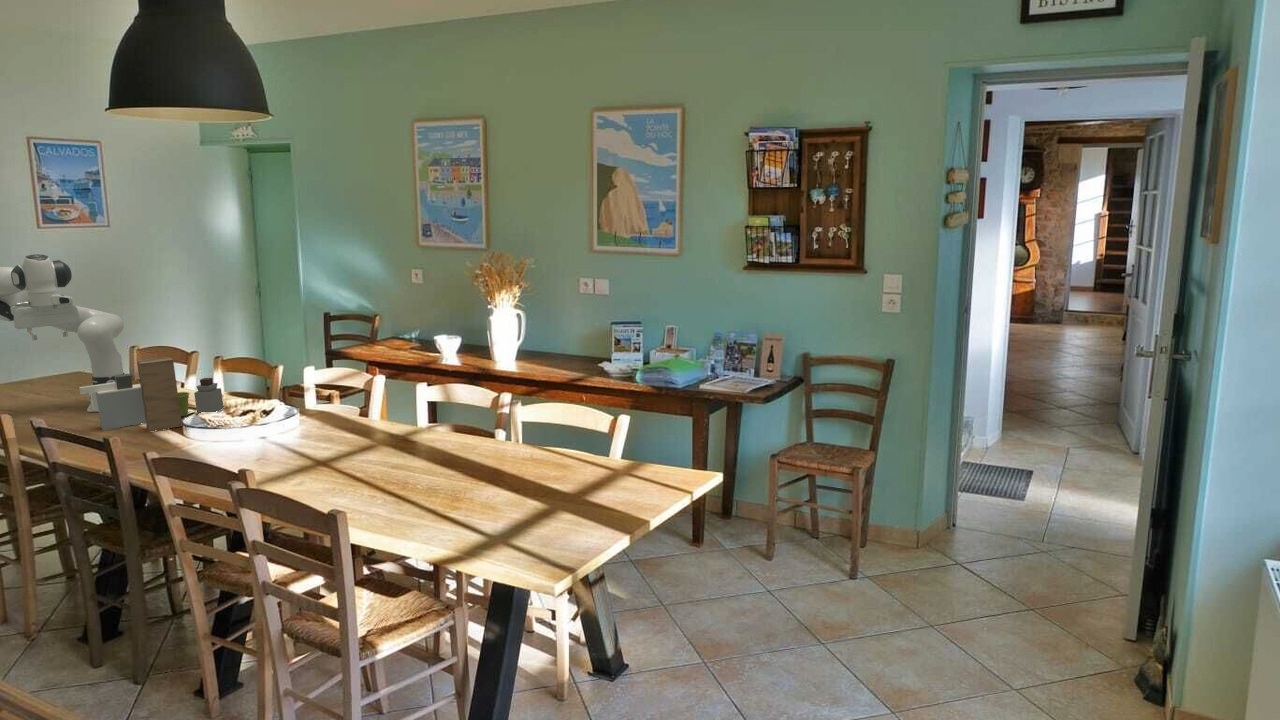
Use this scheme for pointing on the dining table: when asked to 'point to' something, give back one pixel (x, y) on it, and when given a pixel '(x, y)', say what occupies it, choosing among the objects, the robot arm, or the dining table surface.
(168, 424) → the walnut stand
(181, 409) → the plant pot
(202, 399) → the perfume bottle
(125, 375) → the mallet
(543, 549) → the dining table surface
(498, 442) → the dining table surface
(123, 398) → the notepad block
